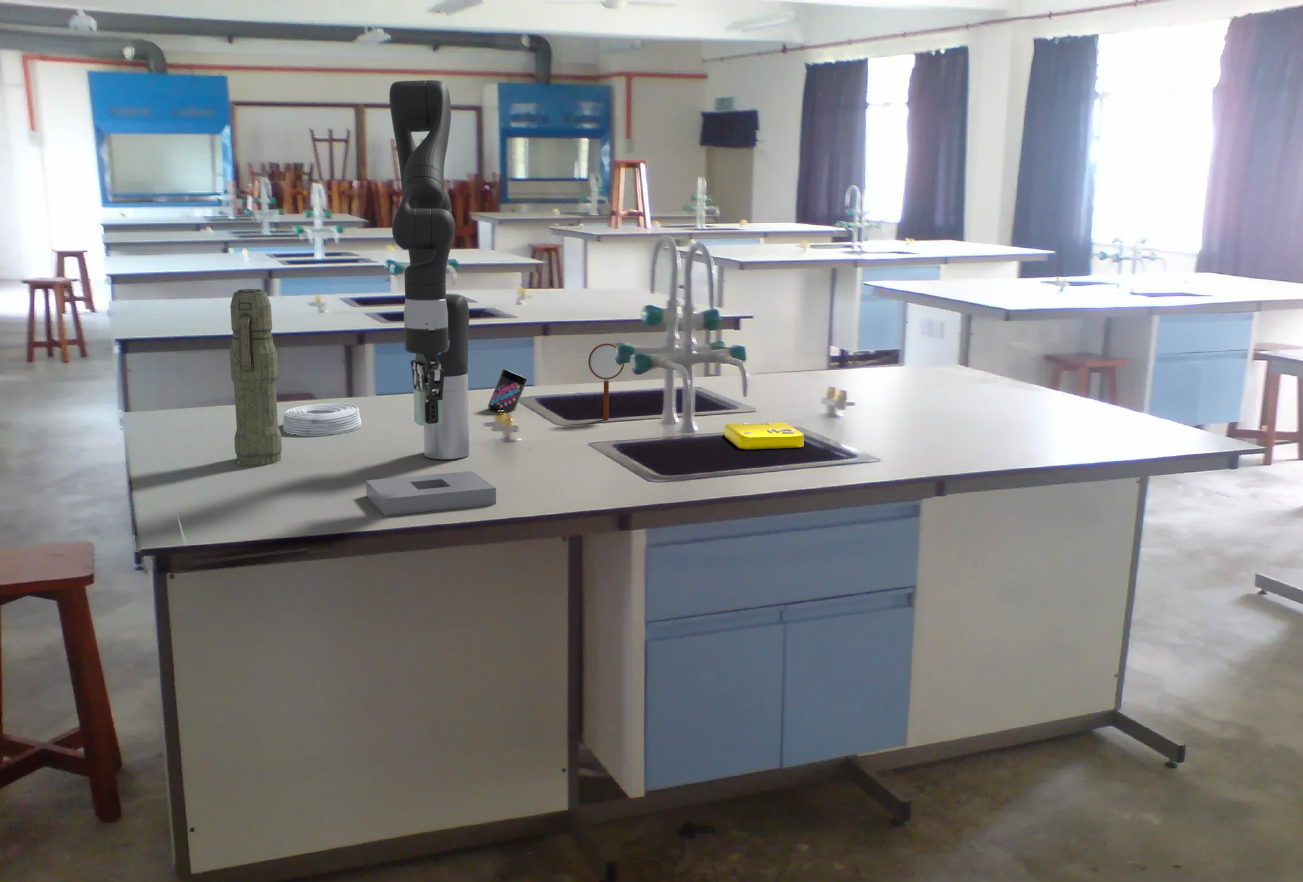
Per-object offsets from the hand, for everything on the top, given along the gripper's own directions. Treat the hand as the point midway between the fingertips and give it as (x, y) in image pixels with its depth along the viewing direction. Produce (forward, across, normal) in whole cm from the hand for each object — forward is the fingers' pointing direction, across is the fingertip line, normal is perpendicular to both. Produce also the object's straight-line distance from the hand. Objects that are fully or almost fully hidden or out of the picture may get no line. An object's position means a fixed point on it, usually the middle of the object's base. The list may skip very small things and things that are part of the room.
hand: (428, 420), depth 208 cm
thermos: (+15, -41, -24) cm, 50 cm away
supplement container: (+15, -71, +39) cm, 83 cm away
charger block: (0, 0, 0) cm, 0 cm away
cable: (+15, -67, -7) cm, 69 cm away
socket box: (+15, 0, 0) cm, 15 cm away
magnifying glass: (+15, -51, +57) cm, 78 cm away
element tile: (+15, -18, +81) cm, 84 cm away
